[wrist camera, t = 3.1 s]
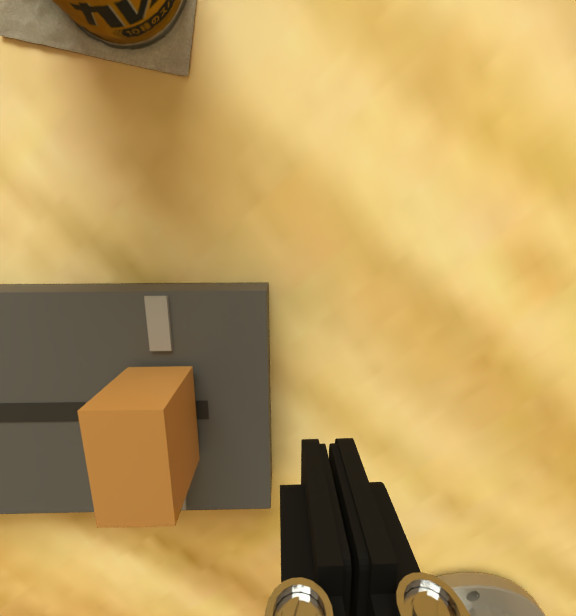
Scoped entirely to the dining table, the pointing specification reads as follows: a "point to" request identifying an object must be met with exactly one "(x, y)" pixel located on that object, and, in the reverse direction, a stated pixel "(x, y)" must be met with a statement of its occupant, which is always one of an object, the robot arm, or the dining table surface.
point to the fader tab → (141, 446)
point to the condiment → (108, 29)
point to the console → (113, 361)
